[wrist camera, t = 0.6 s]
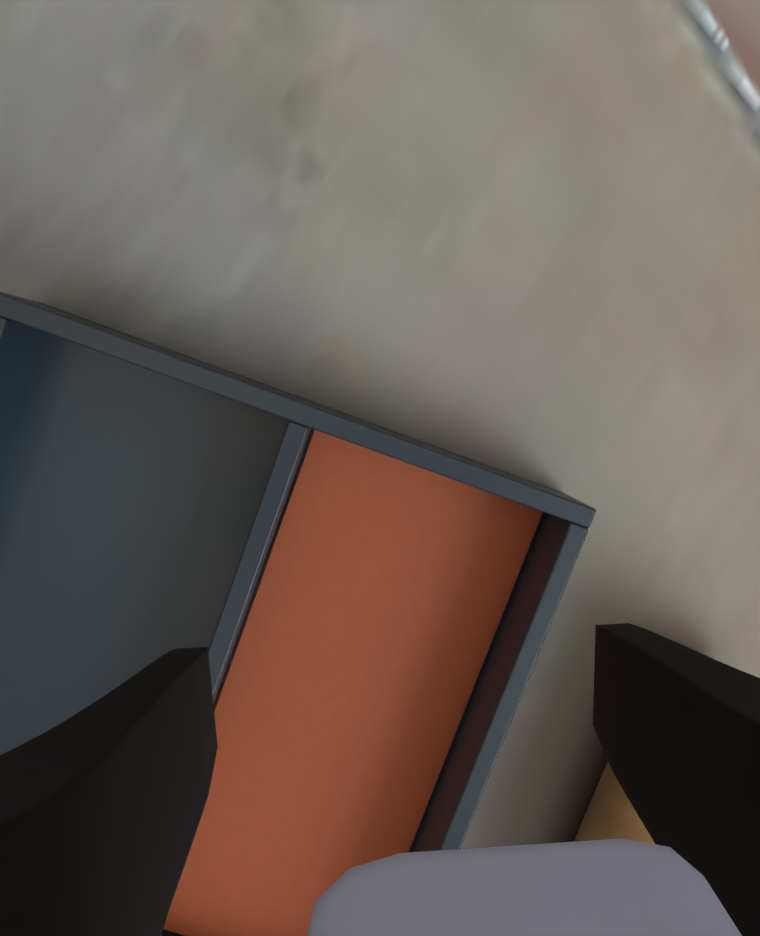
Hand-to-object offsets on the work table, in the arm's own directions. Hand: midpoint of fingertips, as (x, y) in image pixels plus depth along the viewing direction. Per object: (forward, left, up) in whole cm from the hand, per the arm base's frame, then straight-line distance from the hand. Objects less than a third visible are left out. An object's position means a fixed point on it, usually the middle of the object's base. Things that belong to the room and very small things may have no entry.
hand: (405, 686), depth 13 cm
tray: (-6, +4, -10) cm, 12 cm away
